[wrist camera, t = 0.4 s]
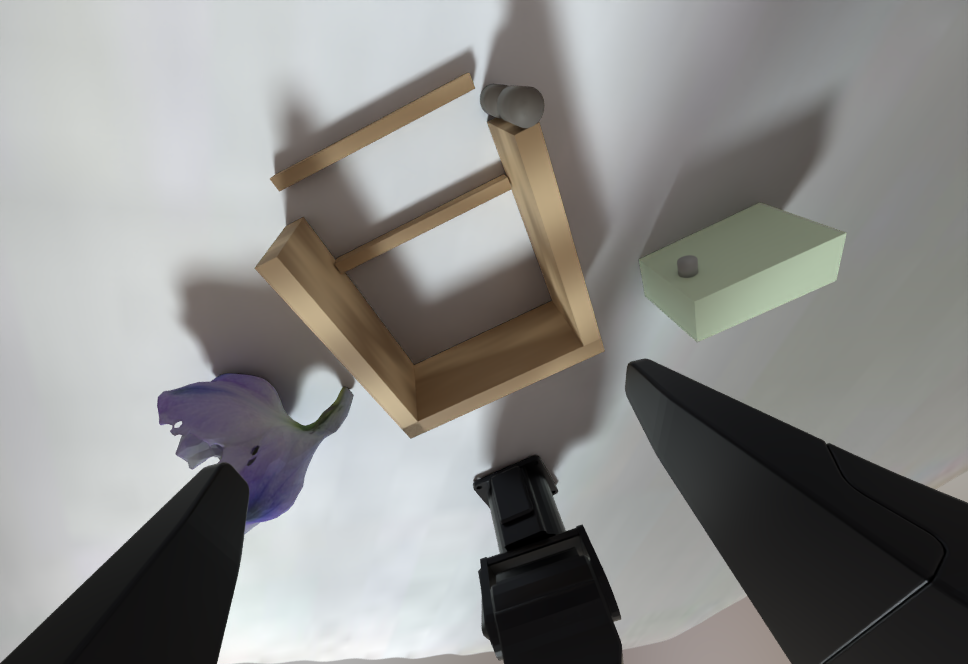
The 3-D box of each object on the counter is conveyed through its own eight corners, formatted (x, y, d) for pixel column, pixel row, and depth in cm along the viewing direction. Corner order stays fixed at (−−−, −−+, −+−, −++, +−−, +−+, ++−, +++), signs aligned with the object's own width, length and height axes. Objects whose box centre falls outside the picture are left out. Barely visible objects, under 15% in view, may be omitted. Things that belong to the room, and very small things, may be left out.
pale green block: (756, 243, 25) (836, 280, 20) (644, 295, 25) (697, 342, 21) (759, 189, 22) (849, 218, 18) (636, 248, 23) (693, 289, 19)
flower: (353, 408, 17) (126, 579, 14) (397, 451, 25) (255, 570, 21) (267, 290, 21) (73, 405, 18) (328, 358, 28) (199, 448, 25)
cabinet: (572, 304, 24) (612, 355, 20) (408, 381, 25) (410, 445, 21) (493, 58, 16) (530, 51, 12) (254, 185, 17) (204, 224, 13)
